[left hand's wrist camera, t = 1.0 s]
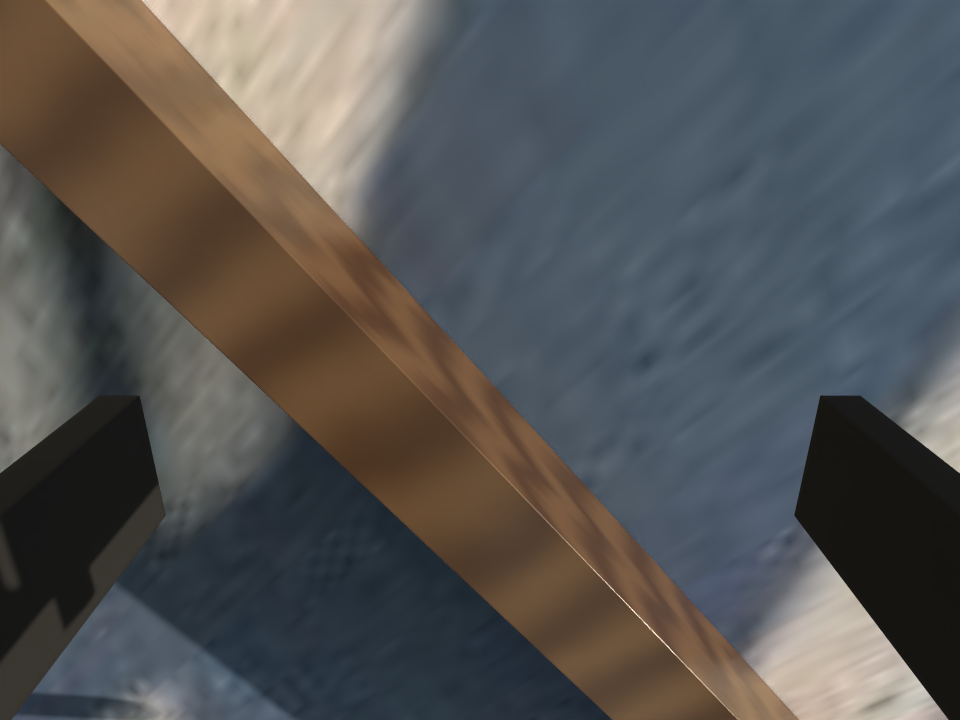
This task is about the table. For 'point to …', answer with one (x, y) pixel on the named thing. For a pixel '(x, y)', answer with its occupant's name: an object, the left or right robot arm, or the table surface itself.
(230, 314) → the bar
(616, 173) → the table surface
